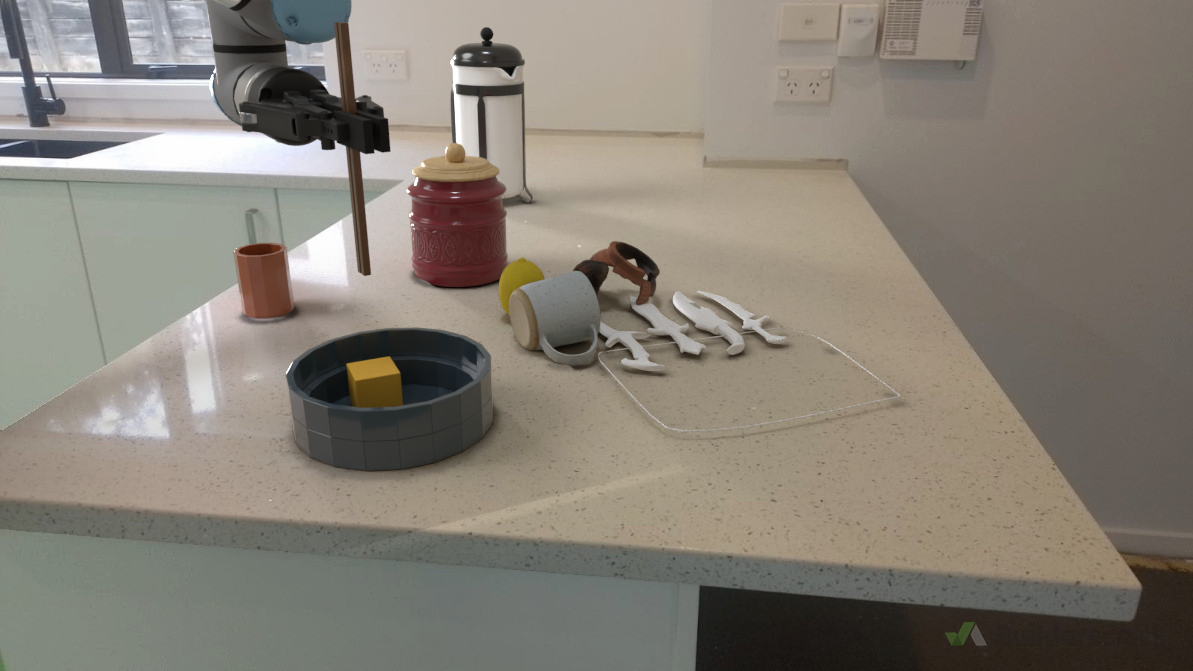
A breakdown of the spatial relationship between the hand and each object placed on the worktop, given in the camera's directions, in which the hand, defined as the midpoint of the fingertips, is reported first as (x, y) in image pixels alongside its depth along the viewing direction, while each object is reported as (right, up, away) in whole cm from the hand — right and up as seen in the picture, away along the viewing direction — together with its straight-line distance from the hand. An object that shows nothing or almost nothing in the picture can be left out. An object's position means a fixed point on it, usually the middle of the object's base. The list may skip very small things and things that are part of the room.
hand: (376, 136), depth 69 cm
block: (-2, -23, +8) cm, 24 cm away
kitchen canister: (-1, -8, +46) cm, 47 cm away
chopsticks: (-4, -11, +9) cm, 15 cm away
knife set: (+30, -18, +22) cm, 42 cm away
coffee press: (-2, +8, +86) cm, 86 cm away
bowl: (0, -24, +6) cm, 25 cm away
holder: (-21, -14, +31) cm, 40 cm away
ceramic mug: (+14, -18, +22) cm, 32 cm away
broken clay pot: (+20, -12, +36) cm, 43 cm away
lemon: (+9, -15, +29) cm, 34 cm away
